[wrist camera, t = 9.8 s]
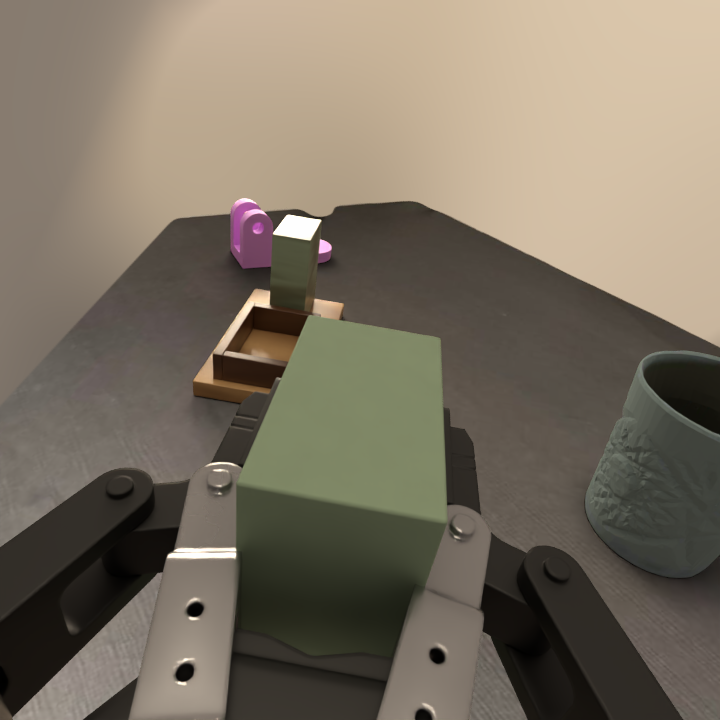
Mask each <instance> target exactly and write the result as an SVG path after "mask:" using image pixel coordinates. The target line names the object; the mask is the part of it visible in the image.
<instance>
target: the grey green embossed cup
mask: <svg viewBox="0 0 720 720" xmlns="http://www.w3.org/2000/svg"><path fill="white" fill-rule="evenodd" d="M585 509H586V514H587V516H588V519H589V521H590V523H591V525H592V527H593V528H594V530H595V531H596V533H597V534H598V535H599V537H600V538H601V539H602V540H603V541H604V542H605V543H606V544H607V545H608V546H609V547H610V548H611V549H612V550H613V551H615V552H616V553H617V554H618V555H620V556H621V557H623V558H624V559H626V560H627V561H629V562H630V563H632V564H634V565H636V566H638V567H639V568H641V569H644V570H646V571H648V572H651V573H654V574H657V575H661V576H666V577H672V578H686V577H692V576H694V575H696V574H698V573H700V572H701V571H703V570H704V569H706V568H707V567H708V566H709V565H710V564H711V563H712V562H713V561H714V560H715V559H716V558H717V557H718V556H719V555H720V358H719V357H716V356H712V355H707V354H703V353H698V352H691V351H661V352H655V353H653V354H650V355H648V356H647V357H645V358H644V359H643V360H642V361H641V363H640V364H639V366H638V368H637V371H636V374H635V377H634V379H633V382H632V385H631V387H630V390H629V393H628V397H627V400H626V402H625V404H624V407H623V417H622V418H621V419H619V420H618V421H617V422H616V424H615V427H614V429H613V431H612V433H611V435H610V440H609V442H608V443H607V445H606V448H605V450H604V455H603V456H602V457H601V460H600V462H599V465H598V468H597V470H596V472H595V474H594V476H593V478H592V481H591V483H590V485H589V488H588V490H587V493H586V497H585Z"/></svg>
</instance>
